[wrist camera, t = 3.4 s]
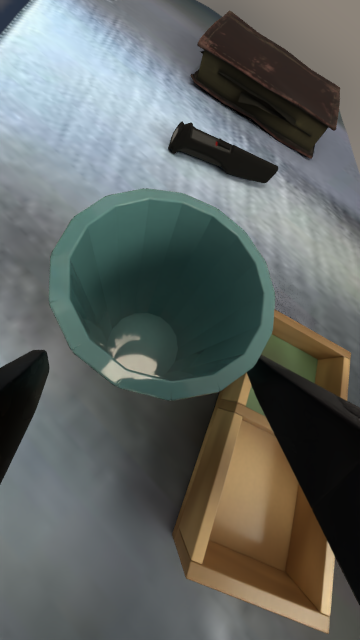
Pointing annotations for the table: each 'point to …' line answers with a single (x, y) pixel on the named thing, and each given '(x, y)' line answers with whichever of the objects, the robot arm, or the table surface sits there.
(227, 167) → the electric trimmer
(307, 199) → the table surface
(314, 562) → the divided wooden tray
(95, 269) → the tumbler
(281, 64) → the diary
